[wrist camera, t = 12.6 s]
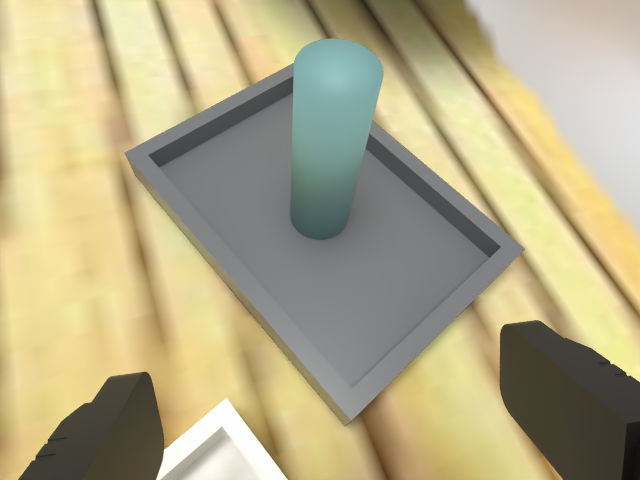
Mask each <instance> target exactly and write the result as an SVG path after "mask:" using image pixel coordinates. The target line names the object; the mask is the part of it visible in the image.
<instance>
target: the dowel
mask: <svg viewBox="0 0 640 480" xmlns="http://www.w3.org/2000/svg"><path fill="white" fill-rule="evenodd" d="M382 79H383V67H382V64H381V62H380V60H379V59H378V57H377V56H376V55H375V54H374V53H373V52H372V51H371V50H369V49H368V48H366V47H365V46H363V45H361V44H359V43H356V42H353V41H350V40H345V39H323V40H318V41H315V42H313V43H310V44H308V45H307V46H305V47H304V48H303V49H302V50H301V51H300V52H299V53H298V54H297V56H296V58H295V61H294V80H293V120H292V159H291V198H290V218H291V222H292V224H293V226H294V227H295V229H296V230H297V231H298V232H299V233H301V234H302V235H304V236H306V237H308V238H311V239H316V240H325V239H330V238H333V237H335V236H336V235H338V234H339V233H340V232H342V230H343V229H344V228H345V226H346V224H347V220H348V216H349V212H350V208H351V204H352V200H353V196H354V192H355V188H356V184H357V180H358V176H359V172H360V168H361V164H362V160H363V156H364V152H365V148H366V144H367V140H368V136H369V132H370V128H371V124H372V120H373V116H374V112H375V108H376V104H377V99H378V95H379V91H380V87H381V83H382Z"/></svg>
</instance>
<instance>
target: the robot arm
mask: <svg viewBox="0 0 640 480" xmlns="http://www.w3.org/2000/svg"><path fill="white" fill-rule="evenodd" d="M500 391H501V395H502V399H503V402H504V404H505V407H506V409H507V410H508V412H509V413H510V415H511V416H512V417H513V418H514V420H515V421H516V422H517V423H518V425H519V426H520V427H521V428H522V429H523V431H524V432H525V433H526V434H527V436H528V437H529V438H530V439H531V440H532V442H533V443H534V444H535V445H536V447H537V448H538V449H539V450H540V451H541V453H542V454H543V455H544V456H545V458H546V459H547V460H548V461H549V462H550V464H551V465H552V466H553V467H554V469H555V470H556V471H557V472H558V474H559V475H560V476H561V477H562V478H563V480H640V382H639V381H637V380H636V379H634V378H633V377H632V376H627V375H626V372H624V371H623V370H622V369H620V368H619V367H617V366H616V365H614V364H610V361H609V360H607V359H606V358H604V357H603V356H601V355H600V354H599V353H597V352H596V351H594V350H593V349H591V348H589V347H587V346H584V345H582V344H579V343H577V342H574V341H572V340H569V339H567V338H565V339H564V338H563V337H561V336H560V335H559V334H557V333H556V332H555V331H553V330H552V329H550V328H549V327H548V326H546V325H545V324H544V323H542V322H541V321H538V320H534V321H527V322H520V323H512V324H505V325H504V326H503V327H502V329H501V333H500ZM163 455H164V434H163V429H162V424H161V420H160V415H159V410H158V406H157V401H156V397H155V392H154V388H153V383H152V380H151V377H150V375H149V374H148V373H147V372H140V373H132V374H125V375H118V376H111V377H109V378H108V379H107V381H106V382H105V383H104V385H103V386H102V388H101V389H100V391H99V392H98V394H97V395H96V397H95V398H94V399H93V401H92V402H91V403H85V404H83V405H82V406H80V407H79V408H78V409H77V410H75V411H74V412H73V413H71V414H70V415H69V416H68V417H66V418H65V419H64V420H63V421H62V422H61V423H60V424H59V426H58V427H57V428H56V430H55V431H54V432H53V434H52V435H51V436H50V438H49V439H48V444H44V446H43V447H42V449H41V450H40V451H39V453H38V454H37V455H36V459H35V461H32V462H31V463H30V465H29V466H28V467H27V469H26V470H25V471H24V473H23V474H22V475H21V477H20V478H19V479H18V480H156V479H157V476H158V473H159V470H160V467H161V464H162V461H163Z"/></svg>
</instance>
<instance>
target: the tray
mask: <svg viewBox="0 0 640 480" xmlns="http://www.w3.org/2000/svg"><path fill="white" fill-rule="evenodd" d="M293 80H294V63H293V64H291V65H289V66H287V67H285V68H283V69H282V70H280V71H278V72H276V73H274V74H272V75H270V76H268V77H266V78H265V79H263V80H261V81H259V82H257V83H255V84H253V85H251V86H249V87H248V88H246V89H244V90H242V91H240V92H238V93H236V94H234V95H233V96H231V97H229V98H227V99H225V100H223V101H221V102H219V103H217V104H216V105H214V106H212V107H210V108H208V109H206V110H204V111H202V112H201V113H199V114H197V115H195V116H193V117H191V118H189V119H187V120H185V121H184V122H182V123H180V124H178V125H176V126H174V127H172V128H170V129H168V130H167V131H165V132H163V133H161V134H159V135H157V136H155V137H153V138H152V139H150V140H148V141H146V142H144V143H142V144H140V145H138V146H136V147H135V148H133V149H131V150H129V151H127V152H125V155H126V157H127V159H128V161H129V163H130V165H131V168H132V170H133V172H134V174H135V176H136V177H137V178H138V179H139V181H140V182H141V183H142V184H143V185H144V187H145V188H146V189H147V190H148V191H149V193H150V194H151V195H152V196H153V197H154V199H155V200H156V201H157V202H158V203H159V205H160V206H161V207H162V208H163V209H164V210H165V212H166V213H167V214H168V215H169V216H170V218H171V219H172V220H173V221H174V222H175V224H176V225H177V226H178V227H179V228H180V230H181V231H182V232H183V233H184V234H185V236H186V237H187V238H188V239H189V240H190V242H191V243H192V244H193V245H194V246H195V247H196V249H197V250H198V251H199V252H200V253H201V255H202V256H203V257H204V258H205V259H206V261H207V262H208V263H209V264H210V265H211V267H212V268H213V269H214V270H215V271H216V273H217V274H218V275H219V276H220V277H221V279H222V280H223V281H224V282H225V283H226V285H227V286H228V287H229V288H230V289H231V290H232V292H233V293H234V294H235V295H236V296H237V298H238V299H239V300H240V301H241V302H242V304H243V305H244V306H245V307H246V308H247V310H248V311H249V312H250V313H251V314H252V316H253V317H254V318H255V319H256V320H257V322H258V323H259V324H260V325H261V326H262V328H263V329H264V330H265V331H266V332H267V333H268V335H269V336H270V337H271V338H272V339H273V341H274V342H275V343H276V344H277V345H278V347H279V348H280V349H281V350H282V351H283V353H284V354H285V355H286V356H287V357H288V359H289V360H290V361H291V362H292V363H293V365H294V366H295V367H296V368H297V369H298V370H299V372H300V373H301V374H302V375H303V376H304V378H305V379H306V380H307V381H308V382H309V384H310V385H311V386H312V387H313V388H314V390H315V391H316V392H317V393H318V394H319V396H320V397H321V398H322V399H323V400H324V402H325V403H326V404H327V405H328V406H329V408H330V409H331V410H332V411H333V412H334V413H335V415H336V416H337V417H338V418H339V419H340V421H341V422H342V423H343V424H344V425H345V426H346V425H347V424H348V423H349V422H351V421H352V420H353V419H354V418H355V417H356V416H357V415H358V414H359V413H360V412H361V411H362V410H363V409H364V408H365V407H366V406H367V405H368V404H369V403H370V402H371V401H372V400H373V399H374V398H375V397H376V396H377V395H378V394H379V393H380V392H381V391H382V390H383V389H384V388H385V387H386V386H387V385H388V384H389V383H390V382H391V381H392V380H393V379H394V378H395V377H396V376H397V375H398V374H399V373H400V372H401V371H402V370H403V369H404V368H405V367H406V366H407V365H408V364H409V363H410V362H411V361H412V360H413V359H414V358H415V357H416V356H417V355H418V354H419V353H421V352H422V351H423V350H424V349H425V348H426V347H427V346H428V345H429V344H430V343H431V342H432V341H433V340H434V339H435V338H436V337H437V336H438V335H439V334H440V333H441V332H442V331H443V330H444V329H445V328H446V327H447V326H448V325H449V324H450V323H451V322H452V321H453V320H454V319H455V318H456V317H457V316H458V315H459V314H460V313H461V312H462V311H463V310H464V309H465V308H466V307H467V306H468V305H469V304H470V303H471V302H472V301H473V300H474V299H475V298H476V297H477V296H478V295H479V294H480V293H481V292H482V291H483V290H484V289H485V288H486V287H487V286H488V285H489V284H490V283H491V282H492V281H493V280H494V279H495V278H496V277H497V276H498V275H499V274H500V273H501V272H502V271H503V270H504V269H505V268H507V267H508V266H509V265H510V264H511V263H512V262H513V261H514V260H515V259H516V258H517V257H518V256H519V255H520V254H521V253H522V252H523V251H524V250H525V248H523V247H522V246H521V245H520V244H519V243H517V242H516V241H515V240H514V239H513V238H512V237H510V236H509V235H508V234H507V233H506V232H504V231H503V230H502V229H501V228H500V227H498V226H497V225H496V224H495V223H494V222H493V221H491V220H490V219H489V218H488V217H487V216H485V215H484V214H483V213H482V212H481V211H480V210H478V209H477V208H476V207H475V206H474V205H472V204H471V203H470V202H469V201H468V200H467V199H465V198H464V197H463V196H462V195H461V194H459V193H458V192H457V191H456V190H455V189H454V188H452V187H451V186H450V185H449V184H448V183H446V182H445V181H444V180H443V179H442V178H440V177H439V176H438V175H437V174H436V173H435V172H433V171H432V170H431V169H430V168H429V167H427V166H426V165H425V164H424V163H423V162H422V161H420V160H419V159H418V158H417V157H416V156H414V155H413V154H412V153H411V152H410V151H409V150H407V149H406V148H405V147H404V146H403V145H401V144H400V143H399V142H398V141H397V140H396V139H394V138H393V137H392V136H391V135H390V134H388V133H387V132H386V131H385V130H384V129H382V128H381V127H380V126H379V125H378V124H377V123H375V122H374V121H373V120H372V124H371V128H370V132H369V136H368V140H367V144H366V148H365V152H364V156H363V160H362V164H361V168H360V172H359V176H358V180H357V184H356V188H355V192H354V196H353V200H352V204H351V208H350V212H349V216H348V220H347V224H346V226H345V228H344V229H343V230H342V232H340V233H339V234H338V235H336V236H335V237H333V238H330V239H325V240H316V239H311V238H308V237H306V236H304V235H302V234H301V233H299V232H298V231H297V230H296V229H295V227H294V226H293V224H292V222H291V218H290V198H291V159H292V120H293Z"/></svg>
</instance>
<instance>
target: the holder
mask: <svg viewBox="0 0 640 480" xmlns="http://www.w3.org/2000/svg"><path fill="white" fill-rule="evenodd" d="M156 480H288V479H287V478H286V477H285V475H284V474H283V473H282V471H281V470H280V469H279V467H278V466H277V465H276V463H275V462H274V461H273V460H272V458H271V457H270V456H269V454H268V453H267V452H266V450H265V449H264V448H263V446H262V445H261V444H260V442H259V441H258V440H257V438H256V437H255V436H254V434H253V433H252V432H251V430H250V429H249V428H248V426H247V425H246V424H245V422H244V421H243V420H242V418H241V417H240V416H239V414H238V413H237V412H236V410H235V409H234V408H233V406H232V405H231V404H230V402H229V401H228V400H227V398H226V399H225V400H223V401H222V402H221V403H220V404H219V405H217V406H216V407H215V408H214V409H213V410H212V411H210V412H209V413H208V414H207V415H206V416H204V417H203V418H202V419H201V420H200V421H198V422H197V423H196V424H195V425H194V426H192V427H191V428H190V429H189V430H188V431H186V432H185V433H184V434H183V435H182V436H181V437H179V438H178V439H177V440H176V441H175V442H173V443H172V444H171V445H170V446H169V447H167V448H166V449H165V450H164V455H163V461H162V464H161V467H160V470H159V473H158V476H157V479H156Z"/></svg>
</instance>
